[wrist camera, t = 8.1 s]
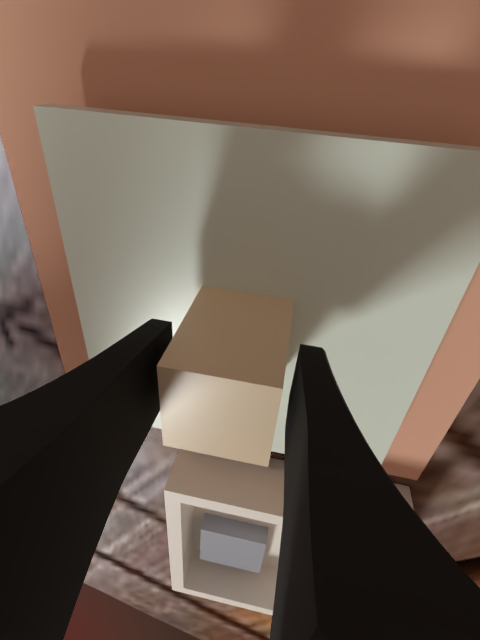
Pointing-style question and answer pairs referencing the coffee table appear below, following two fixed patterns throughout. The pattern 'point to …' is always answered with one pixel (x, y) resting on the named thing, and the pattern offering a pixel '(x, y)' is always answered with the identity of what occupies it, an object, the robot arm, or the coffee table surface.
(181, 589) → the storage box
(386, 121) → the mat
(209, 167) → the lid
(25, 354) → the coffee table surface
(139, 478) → the coffee table surface
